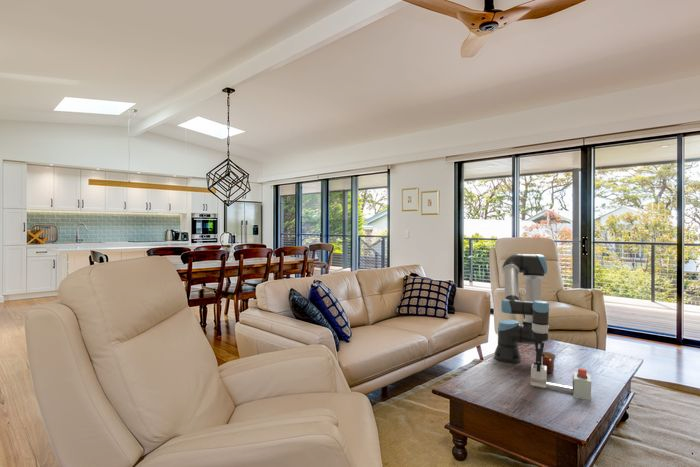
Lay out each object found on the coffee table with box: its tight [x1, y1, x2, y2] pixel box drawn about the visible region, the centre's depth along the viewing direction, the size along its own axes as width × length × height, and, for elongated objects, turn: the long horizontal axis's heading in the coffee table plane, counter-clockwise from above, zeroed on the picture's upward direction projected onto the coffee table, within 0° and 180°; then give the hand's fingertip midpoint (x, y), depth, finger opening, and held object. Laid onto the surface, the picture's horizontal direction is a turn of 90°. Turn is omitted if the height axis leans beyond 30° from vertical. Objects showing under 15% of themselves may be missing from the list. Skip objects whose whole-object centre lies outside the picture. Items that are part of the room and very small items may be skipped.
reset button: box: [577, 368, 588, 377], centre depth 188 cm, size 4×4×3 cm
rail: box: [530, 381, 573, 395], centre depth 195 cm, size 20×2×2 cm, turn 62°
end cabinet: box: [572, 371, 592, 401], centre depth 189 cm, size 7×10×9 cm
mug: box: [542, 351, 556, 376], centre depth 214 cm, size 12×9×10 cm
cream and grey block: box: [530, 363, 548, 389], centre depth 198 cm, size 7×7×9 cm
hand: (538, 372), depth 197 cm, fingers open, 13 cm apart
